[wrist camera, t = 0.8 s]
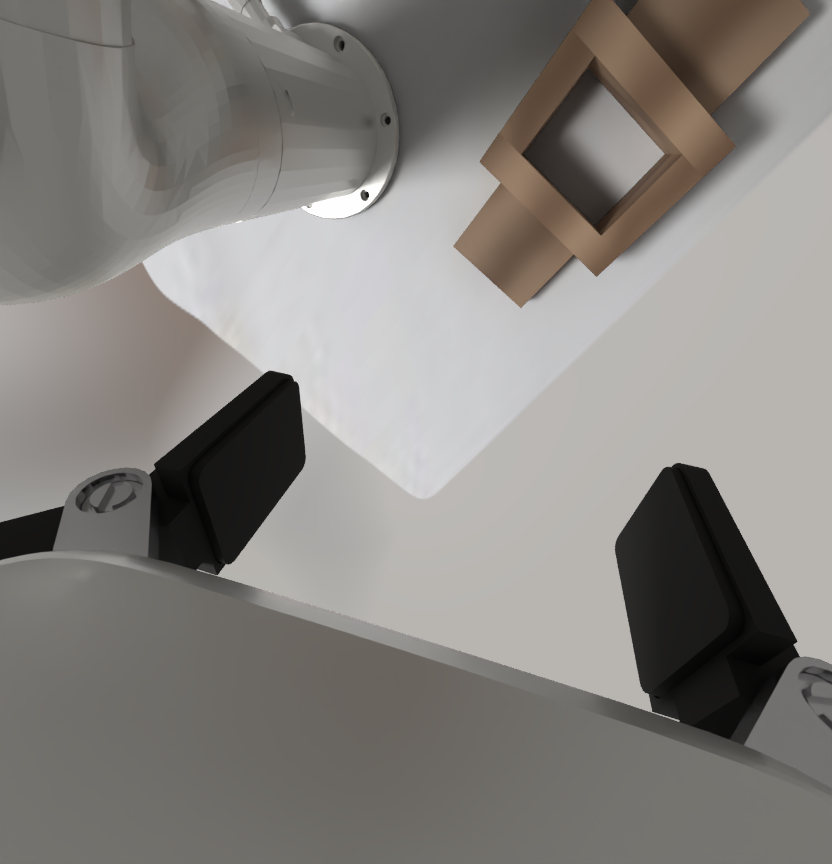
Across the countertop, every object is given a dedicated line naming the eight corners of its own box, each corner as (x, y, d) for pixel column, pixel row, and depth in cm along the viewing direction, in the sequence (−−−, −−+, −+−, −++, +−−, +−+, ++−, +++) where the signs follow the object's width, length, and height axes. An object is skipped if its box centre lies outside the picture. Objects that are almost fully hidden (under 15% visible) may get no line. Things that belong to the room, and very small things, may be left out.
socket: (440, 226, 35) (428, 234, 31) (684, -122, 22) (712, -175, 18) (537, 315, 37) (536, 332, 33) (812, 49, 24) (858, 31, 20)
